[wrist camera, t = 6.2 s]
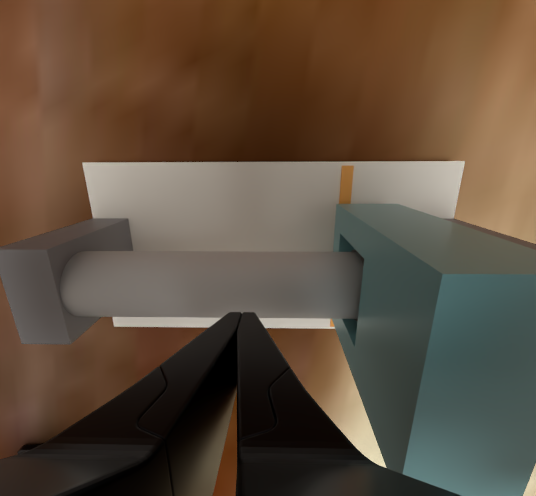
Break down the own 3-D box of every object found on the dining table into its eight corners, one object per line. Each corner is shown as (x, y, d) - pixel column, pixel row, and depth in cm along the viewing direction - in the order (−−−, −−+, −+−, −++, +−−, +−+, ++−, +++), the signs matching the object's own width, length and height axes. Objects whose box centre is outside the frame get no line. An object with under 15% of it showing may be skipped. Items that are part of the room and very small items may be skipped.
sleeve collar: (328, 310, 15) (397, 498, 7) (336, 203, 14) (442, 274, 5) (382, 311, 15) (521, 500, 7) (397, 203, 14) (610, 274, 5)
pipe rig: (123, 316, 19) (40, 402, 12) (96, 162, 16) (-36, 162, 9) (421, 319, 18) (506, 409, 12) (450, 161, 15) (588, 160, 9)
